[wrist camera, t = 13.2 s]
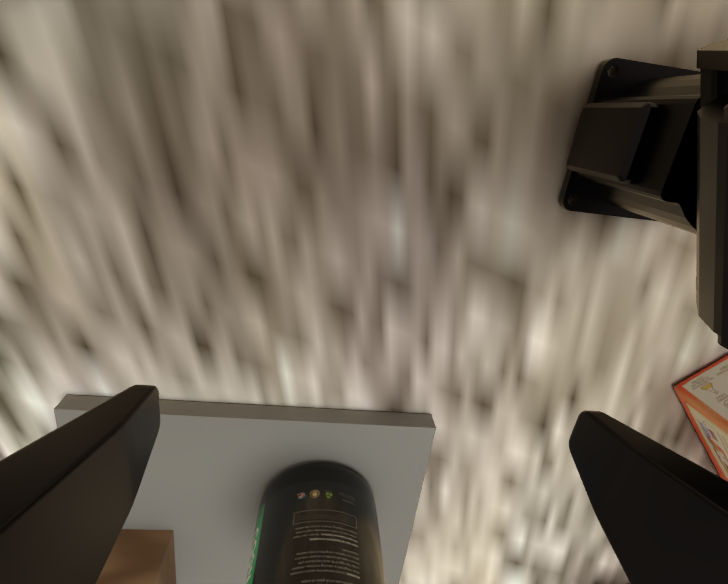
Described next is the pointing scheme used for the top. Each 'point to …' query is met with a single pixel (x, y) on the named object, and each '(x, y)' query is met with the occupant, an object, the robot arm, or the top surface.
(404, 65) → the top surface
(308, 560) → the supplement bottle
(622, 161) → the robot arm
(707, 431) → the cracker box
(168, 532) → the walnut block
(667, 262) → the top surface
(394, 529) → the gray board
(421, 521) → the top surface
